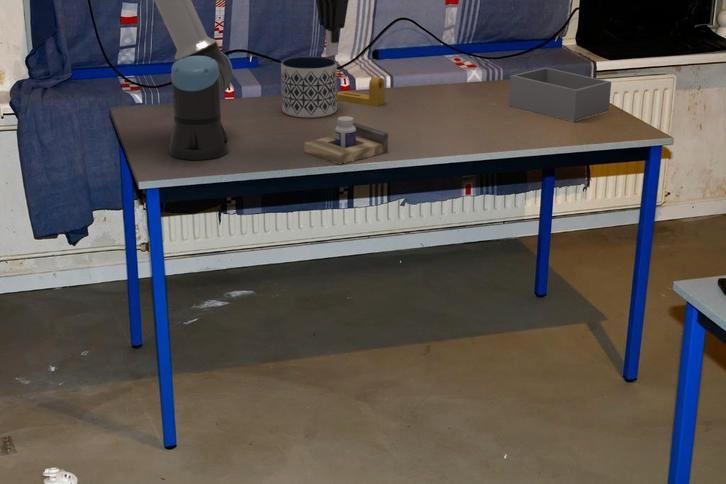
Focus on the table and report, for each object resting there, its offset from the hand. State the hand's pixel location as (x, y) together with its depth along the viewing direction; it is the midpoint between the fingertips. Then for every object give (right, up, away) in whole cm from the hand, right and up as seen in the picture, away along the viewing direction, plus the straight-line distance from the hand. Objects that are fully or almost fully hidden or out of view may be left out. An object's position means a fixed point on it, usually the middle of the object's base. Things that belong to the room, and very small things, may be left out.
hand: (331, 54), depth 282 cm
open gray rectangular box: (+65, -9, +38) cm, 76 cm away
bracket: (+7, -7, +46) cm, 47 cm away
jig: (+4, -25, -1) cm, 25 cm away
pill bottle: (+4, -25, -1) cm, 26 cm away
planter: (-7, -11, +35) cm, 38 cm away
